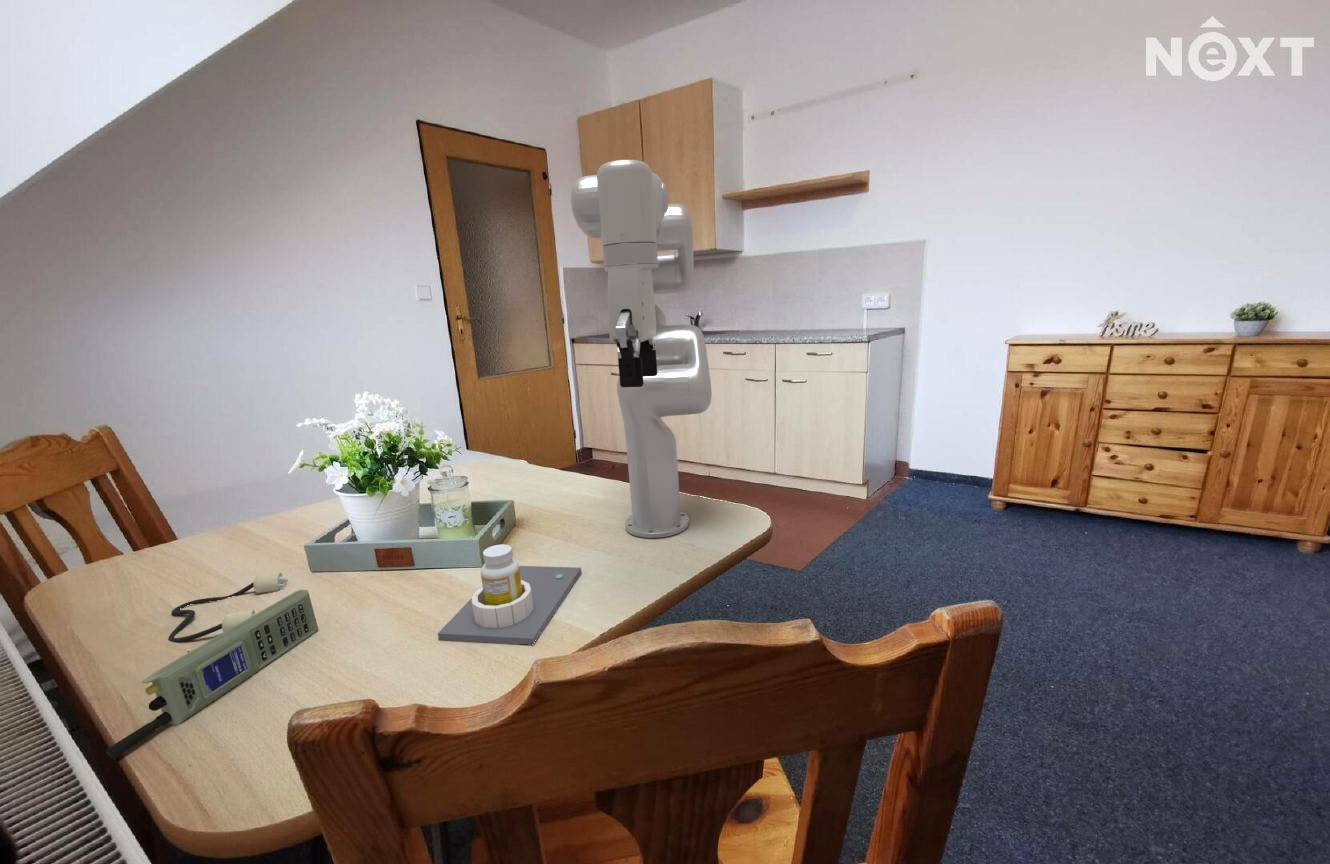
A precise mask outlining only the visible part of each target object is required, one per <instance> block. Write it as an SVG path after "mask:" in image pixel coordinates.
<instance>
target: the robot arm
mask: <svg viewBox="0 0 1330 864" xmlns="http://www.w3.org/2000/svg"><path fill="white" fill-rule="evenodd" d="M570 205H571V212H572V214H573V215H572V216H573V217H574V220H575V222H576V224H577V226H578V227H579V229H580V230H581V231H582V233H584V235H586V236H587V237H590V238H594V239H599V240H600V239H601V243H602V244H601V245H602V254H603V255H602V256H603V268H604V272H606V273H607V272H608V273H607V307H608V308H607V309H608V312H607V313H608V332H609V334H608V335H609V339H610V341H611V342H612V343H613V344H616V347H617V352H616V353H617V362H618V363H617V364H618V374H619V375H618V376H619V377H618V380H617V382H616V393H617V398H618V403H619V406H620V411H621V415H622V421H623V426H624V432H625V444H626V455H627V456H626V457H627V466H628V479H629V491H630V492H629V493H630V501H631V502H630V503H631V515H629V517H627V518H626V519H625V522H624V524H625V530H626V532H628V533H629V534H631V535H633V536H635V537H638V538H646V539H656V538H658V539H661V538H667V537H670V536H675V535H677V534H679V533H682V532H683V531H685V530H686V529H687V528H688V527H689V525H690V524H689V523H690V519H689V516H688V514H686V513H685V512H683V511H682V510H681V500H680V498H681V497H680V487H679V486H680V485H679V484H680V482H679V470H678V469H679V466H678V452H677V451H678V450H677V440H676V439H677V438H676V437H675V434H674V432H673V431H672V429H671V428H670V427H669V426H668V425H667V424H666V423H665V422H664V421H663V419H661V418H665V417H666V418H667V417H671V416H672V417H673V416H674V417H675V416H689V415H696V414H697V415H700V414H701V413H704V412H706V411H707V410H708V409H709V407H710V406H711V403H712V393H713V392H712V382H711V375H710V368H709V367H710V366H709V360H708V359H709V358H708V351H707V346H706V340H705V337H704V333H703V332H702V331H701V329H700V328H699V327H698V326H697V325H694V324H672V325H671V324H669V325H668V324H667V317H666V314H665V313H664V311H663V310H662V309H661V307H659V305H657V304H656V300H655V295H664V294H665V295H667V294H680V293H684V292H688V290H690V289H691V288H692V286H693V283H694V279H695V278H694V277H695V267H694V266H695V263H694V261H695V260H694V229H693V222H692V218H691V217H692V216H691V215H690V212H689V210H688V209H687V207H686V206H685V205H683V204H682V203H669V194H668V188H667V186H666V183H665V182H663V180H662V179H661V177H660V176H659V175H658V174H657V173H655V172H653V171H652V169H651V167H650V166H649V164H648V163H646V162H645V161H641V160H637V159H617V160H612V161H608V162H605V163H603V164H602V165H600V167H599V168H598V170H597V172H596V174H593V175H592V174H591V175H584V176H581V177H579V178H577V179H576V180H575V181H574V183H573V185H572V188H571V191H570ZM671 250H673V251H671ZM658 251H660V252H658Z"/></svg>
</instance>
